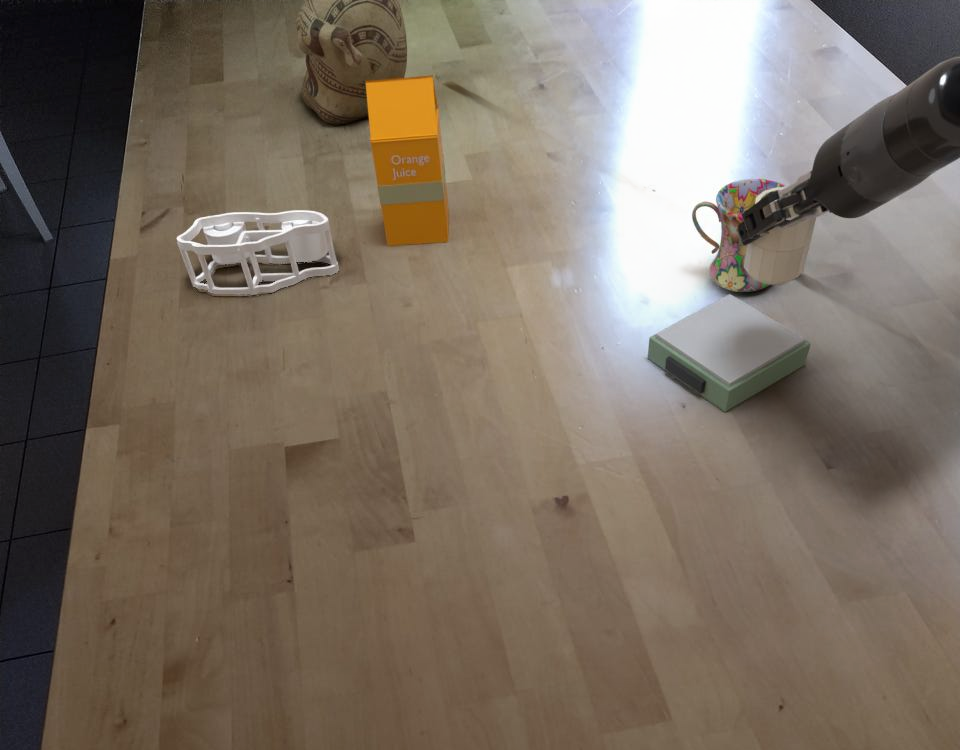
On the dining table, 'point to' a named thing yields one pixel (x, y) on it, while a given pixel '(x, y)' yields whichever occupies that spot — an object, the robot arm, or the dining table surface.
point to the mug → (733, 233)
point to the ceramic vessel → (349, 53)
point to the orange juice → (408, 159)
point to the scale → (728, 351)
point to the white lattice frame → (260, 248)
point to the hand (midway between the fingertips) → (770, 225)
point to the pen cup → (779, 251)
